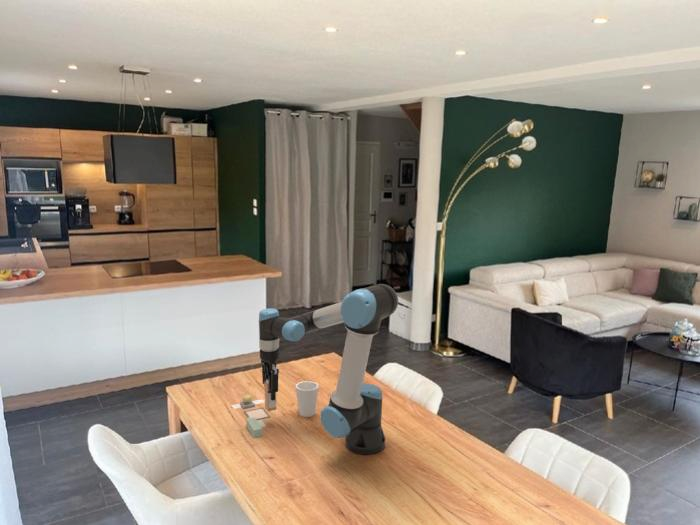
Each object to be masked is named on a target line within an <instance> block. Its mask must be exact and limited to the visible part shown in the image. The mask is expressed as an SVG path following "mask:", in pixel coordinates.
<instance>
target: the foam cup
mask: <svg viewBox="0 0 700 525" xmlns="http://www.w3.org/2000/svg"><path fill="white" fill-rule="evenodd" d="M319 391H320V390H319V383H317V382H314V381H310V380H309V381H306V380H305V381H301V382H297V383H296V385H295V393H296V401H297V407H298V415H300V417H303V418H309V417H310V418H311V417H313V416H314V415H315V414H316V408H317V407H316V406H317V402H318V393H319Z"/></svg>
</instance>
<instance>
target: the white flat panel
mask: <svg viewBox="0 0 700 525" xmlns="http://www.w3.org/2000/svg"><path fill="white" fill-rule="evenodd" d="M258 404H260V405H261V404H265V399H263V398H259V399H257V400H256V399H255V400H251V401H249V402H244V401H243V400H242V401H239V403H237V404H232V405H230V406H231V407H230V408H231V409H232V410H236V409H241V408H242V409H243V410H244V411H243V413H244V414H245V416H246V417H247V418H249V417H252V418H254V417H255V418H256V420H257V421H258V422H259V424H260V425H261V427H262V428H264V427H267V425H266V424H265V423H264V421H263V420H265V419H268V418H271V416H270V414H269V413H268V411H267V410H266V409H265V408H263V407H259V408H255V407H256V405H258ZM252 408H254V409H252ZM246 409H247V410H246ZM248 409H249V410H248Z"/></svg>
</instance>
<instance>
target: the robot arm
mask: <svg viewBox="0 0 700 525" xmlns="http://www.w3.org/2000/svg"><path fill="white" fill-rule="evenodd" d="M398 306H399V297H398V294H397V292H396V291H395V289H394V288H393V287H391V286H390V285H388V284H384V283H378V284H374V285H370V286H368V287H363V288H359V289H358V288H357V289H355V290H353V291H351V292H349V293H348V294H346V296H345V297H344V298H343V300H341V301H339V302H337V303H334V304H331V305H327V306H325V307H321V308H318V309H316V310H311V311H309V312H306V313H305V312H304V313H302V314H299V315H296V316H293V317H289V318H285V317H282V316H280V314H279V313H280V312H279V310H278V309H276V308H270V307H269V308H265V309H261V310H260V311H259V313H258V314H259V315H258V329H259V330H258V333H259V334H258V336H259V338H258V340H259V342H258V344H259V345H258V346H259V359H260V362H261V374H262V384H263V386H264V388H265V382H266V379H268V378H269V391H268V393H269V408H273V407H276V408H277V393H278V392H279V373H280V369H279V368H277V362H276V361H277V360H278V359H279V358H280V341H281V339H283V340H287V341H289V342H298V341H301V339H302V338H303V337H304V335H305V334H308V333H311V332H314V331H318V330H322V329H325V328H329V327H331V326H335V325H339V324H344V325H343V326H344V327H345V329H346V330H347V333H346V337H345V341H344V342H345V343H344V348H343V352H342V358H341V363H340V369H339V374H338V378H337V383H336V389H334V390H333V391H332V392H331V393H330V396H329V401H328V405H326V406H324V407H323V408H322V410H321V411H320V415H319V418H320V421H321V425H322V426H323V429H324V430H325V431H326V432H327V433H328V435H330V436H331V437H333V438H336V439H342V438H344V444H345V447H346V449H348V450H349V451H350V452H352V453H355V454H358V455H366V456H367V455H375V454H377V453H378V454H379V453H380V452H382V451H383V450H384V449H385V447H386V437H385V433H384V430H383V427H382V412H383V410H382V409H383V399H384V398H383V391H382V389H381V387H379V386H378V385H375V384H372V383H367V382H364V379H365V376H366V375H365V374H366V370H367V367H368V366H367V365H368V360H369V356H370V352H371V351H370V350H371V347H372V342H373V338H374V336H375V335H377V334H378V333H379V331H380V326H381V323H382V320H384V319H385V318H388V317H390V316H392V315H393V314H394V313H395V312H396V310H397V308H398ZM280 338H281V339H280Z"/></svg>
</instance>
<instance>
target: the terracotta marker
mask: <svg viewBox="0 0 700 525" xmlns="http://www.w3.org/2000/svg"><path fill="white" fill-rule="evenodd" d="M268 391H269V378H268V379H266V382H265V387H264V401H265V403H264V409H265V411H266V412H271V411H272V412H273V411H276V410H277V406H276V407H273V408H269V393H268Z"/></svg>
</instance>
